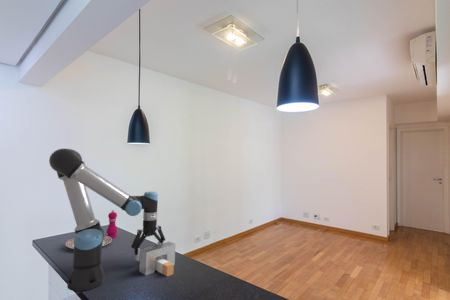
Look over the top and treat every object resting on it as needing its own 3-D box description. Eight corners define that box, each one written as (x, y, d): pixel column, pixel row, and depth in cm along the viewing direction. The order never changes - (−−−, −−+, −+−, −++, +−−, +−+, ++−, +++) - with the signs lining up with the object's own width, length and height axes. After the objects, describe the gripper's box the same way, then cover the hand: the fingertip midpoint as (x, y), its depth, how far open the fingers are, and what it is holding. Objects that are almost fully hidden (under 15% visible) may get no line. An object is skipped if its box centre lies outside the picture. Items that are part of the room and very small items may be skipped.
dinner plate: (119, 240, 176) (119, 235, 177) (95, 254, 149) (96, 249, 149) (83, 238, 179) (84, 233, 179) (54, 251, 152) (54, 246, 152)
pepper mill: (118, 235, 186) (119, 209, 187) (114, 238, 179) (115, 211, 180) (108, 235, 186) (110, 209, 187) (104, 238, 179) (105, 211, 180)
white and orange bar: (173, 273, 126) (173, 264, 127) (166, 276, 123) (167, 266, 124) (148, 260, 142) (148, 251, 143) (142, 262, 139) (142, 253, 140)
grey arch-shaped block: (174, 264, 137) (175, 244, 138) (145, 275, 124) (146, 252, 124) (168, 261, 141) (169, 241, 142) (139, 271, 128) (140, 249, 128)
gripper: (132, 224, 128) (130, 265, 127) (172, 217, 147) (170, 253, 146) (125, 221, 133) (124, 261, 132) (164, 214, 152) (163, 249, 151)
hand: (148, 257), depth 139 cm, fingers open, 13 cm apart
